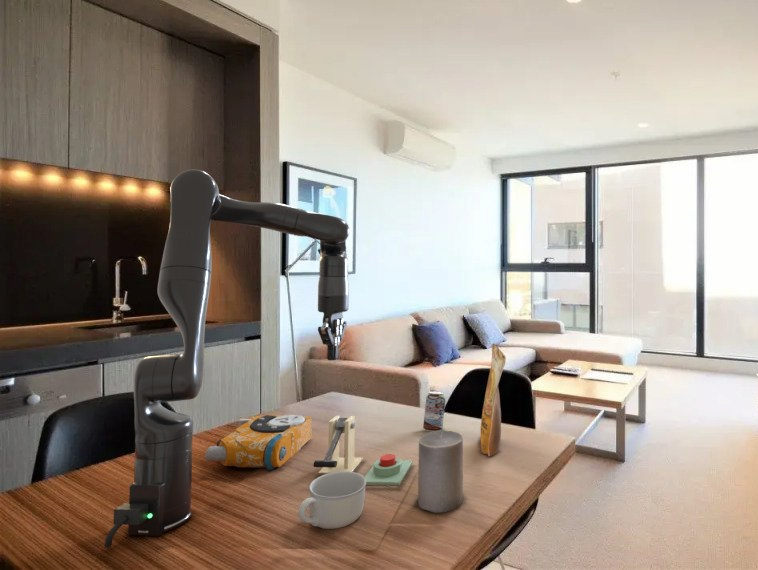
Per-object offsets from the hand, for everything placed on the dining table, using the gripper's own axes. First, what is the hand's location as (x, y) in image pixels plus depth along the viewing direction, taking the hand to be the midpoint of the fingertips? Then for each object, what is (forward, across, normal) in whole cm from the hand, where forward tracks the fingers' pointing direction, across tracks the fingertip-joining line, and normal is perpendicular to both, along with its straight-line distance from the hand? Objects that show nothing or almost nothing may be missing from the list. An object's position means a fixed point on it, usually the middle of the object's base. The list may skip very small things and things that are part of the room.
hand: (332, 359), depth 119 cm
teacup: (+27, +28, +12) cm, 41 cm away
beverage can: (+27, -25, +22) cm, 43 cm away
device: (+27, -7, -22) cm, 36 cm away
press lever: (+20, +7, +4) cm, 21 cm away
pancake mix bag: (+27, -14, +41) cm, 51 cm away
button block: (+27, +7, +17) cm, 33 cm away
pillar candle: (+27, +18, +32) cm, 46 cm away
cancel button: (+24, +7, +17) cm, 30 cm away
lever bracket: (+27, +3, +4) cm, 27 cm away
